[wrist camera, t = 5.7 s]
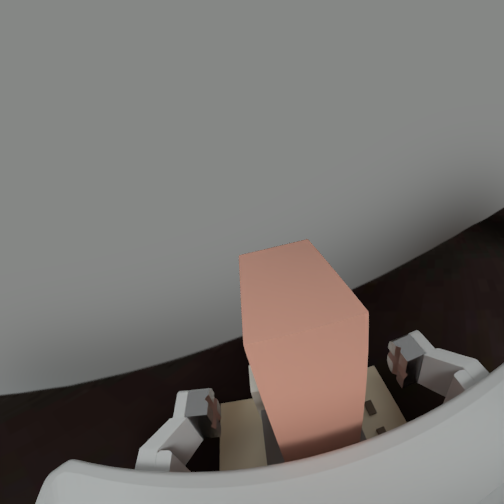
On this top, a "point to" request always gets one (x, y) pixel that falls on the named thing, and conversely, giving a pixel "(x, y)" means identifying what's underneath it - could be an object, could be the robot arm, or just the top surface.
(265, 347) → the tall salmon pink pillar
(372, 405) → the slotted tan base plate
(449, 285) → the top surface
